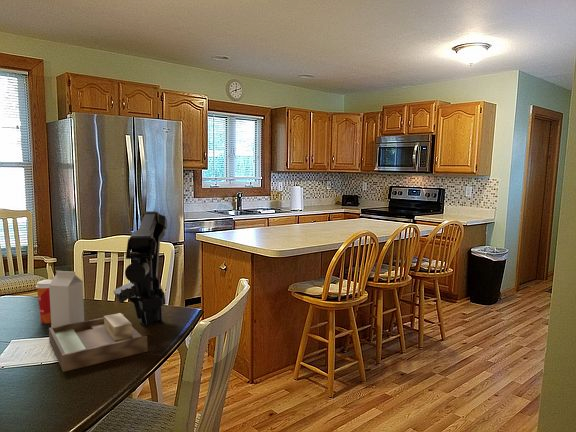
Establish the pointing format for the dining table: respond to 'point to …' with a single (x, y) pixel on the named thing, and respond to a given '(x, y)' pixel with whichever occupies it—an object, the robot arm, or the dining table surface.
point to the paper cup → (44, 300)
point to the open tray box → (91, 344)
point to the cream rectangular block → (117, 326)
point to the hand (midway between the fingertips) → (144, 322)
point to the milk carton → (66, 299)
